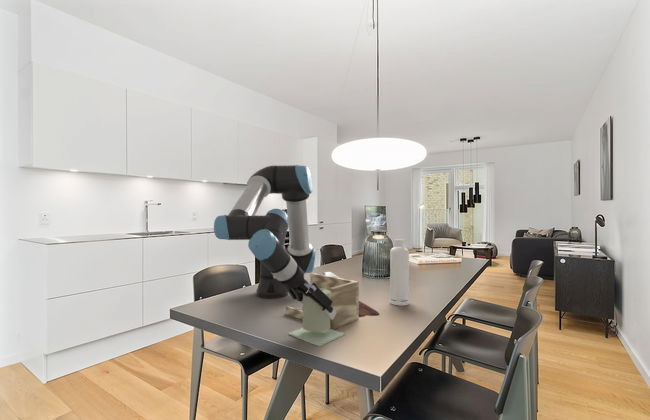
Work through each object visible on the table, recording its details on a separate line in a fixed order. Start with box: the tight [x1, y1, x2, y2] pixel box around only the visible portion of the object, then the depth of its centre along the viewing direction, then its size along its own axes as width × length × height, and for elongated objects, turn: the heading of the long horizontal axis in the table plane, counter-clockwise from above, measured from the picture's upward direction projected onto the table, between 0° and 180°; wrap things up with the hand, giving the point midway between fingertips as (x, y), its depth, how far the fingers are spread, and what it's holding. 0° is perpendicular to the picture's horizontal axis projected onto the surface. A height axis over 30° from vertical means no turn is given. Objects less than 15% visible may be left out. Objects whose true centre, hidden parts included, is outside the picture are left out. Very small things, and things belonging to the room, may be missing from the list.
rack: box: [285, 272, 360, 330], centre depth 125 cm, size 24×15×14 cm, turn 48°
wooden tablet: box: [359, 300, 380, 318], centre depth 138 cm, size 26×2×10 cm
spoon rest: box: [321, 271, 340, 278], centre depth 173 cm, size 24×12×7 cm, turn 23°
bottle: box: [389, 238, 410, 307], centre depth 143 cm, size 8×8×28 cm
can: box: [301, 288, 330, 332], centre depth 107 cm, size 9×9×12 cm
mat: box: [288, 327, 345, 347], centre depth 107 cm, size 14×12×1 cm
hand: (323, 312), depth 109 cm, fingers closed on can, 9 cm apart
